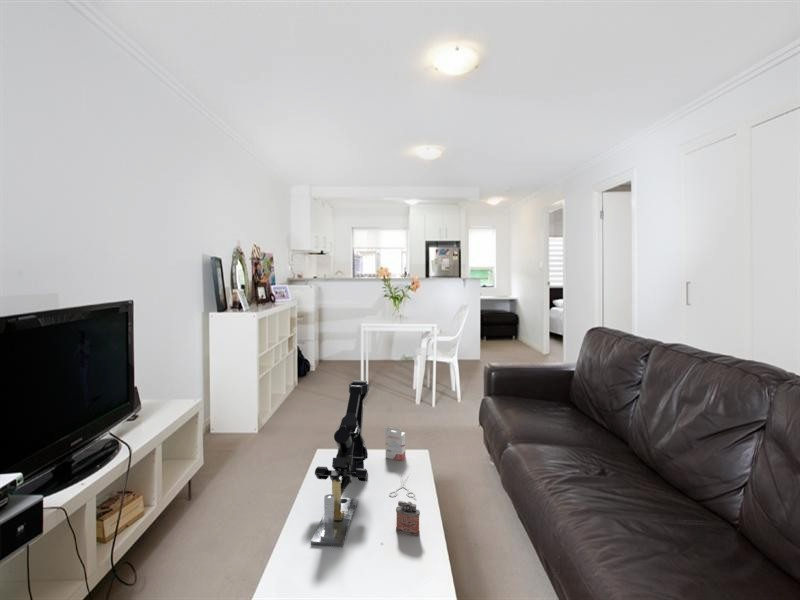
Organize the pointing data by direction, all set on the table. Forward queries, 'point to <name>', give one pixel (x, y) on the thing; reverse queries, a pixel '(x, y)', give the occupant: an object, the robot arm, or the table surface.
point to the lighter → (407, 519)
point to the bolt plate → (334, 523)
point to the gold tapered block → (337, 499)
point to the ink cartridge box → (395, 444)
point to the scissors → (403, 487)
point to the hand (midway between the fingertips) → (337, 499)
